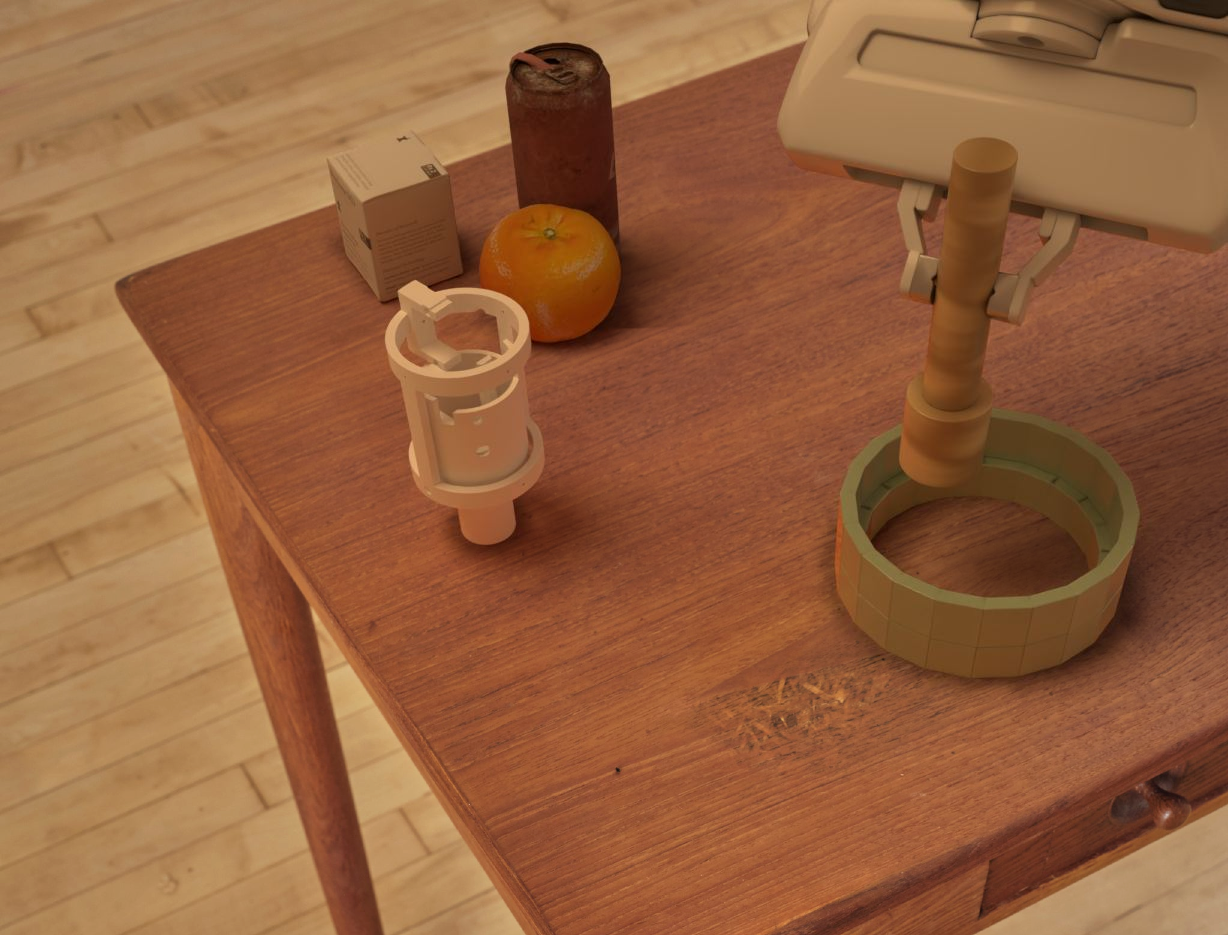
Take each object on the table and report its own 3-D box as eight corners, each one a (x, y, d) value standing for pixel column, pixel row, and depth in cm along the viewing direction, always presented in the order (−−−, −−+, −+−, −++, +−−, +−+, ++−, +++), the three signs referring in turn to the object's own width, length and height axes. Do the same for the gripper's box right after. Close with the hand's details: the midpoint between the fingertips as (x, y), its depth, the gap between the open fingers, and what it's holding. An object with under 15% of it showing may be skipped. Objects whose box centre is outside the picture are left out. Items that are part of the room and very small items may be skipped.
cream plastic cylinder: (492, 479, 92) (457, 249, 80) (580, 534, 88) (556, 304, 76) (401, 544, 89) (350, 317, 77) (488, 604, 86) (449, 377, 74)
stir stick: (976, 431, 78) (1027, 125, 66) (987, 486, 76) (1043, 179, 63) (894, 434, 79) (930, 129, 66) (903, 489, 76) (941, 183, 63)
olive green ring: (1089, 488, 88) (1110, 401, 84) (1138, 687, 80) (1165, 603, 75) (825, 498, 89) (830, 413, 84) (845, 696, 80) (853, 613, 76)
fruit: (600, 342, 93) (561, 201, 90) (478, 369, 97) (437, 235, 94) (655, 309, 100) (621, 177, 97) (538, 336, 104) (502, 210, 101)
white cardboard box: (345, 258, 105) (322, 155, 99) (428, 229, 107) (411, 125, 101) (381, 305, 102) (360, 201, 96) (466, 274, 104) (451, 170, 98)
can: (545, 239, 105) (524, 30, 94) (635, 256, 104) (624, 45, 92) (509, 293, 102) (482, 83, 91) (601, 311, 100) (585, 99, 89)
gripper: (813, -90, 67) (721, 243, 70) (1313, -10, 61) (1191, 350, 64) (843, -30, 73) (757, 274, 76) (1301, 48, 67) (1191, 375, 70)
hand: (960, 310), depth 70 cm, fingers closed on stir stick, 2 cm apart
